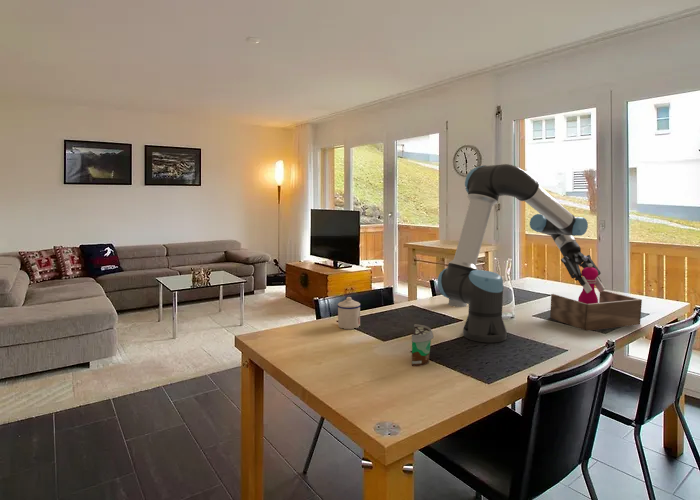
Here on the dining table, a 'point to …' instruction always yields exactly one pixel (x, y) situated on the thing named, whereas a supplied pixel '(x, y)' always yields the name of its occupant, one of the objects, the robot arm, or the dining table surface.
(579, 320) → the open-sided box
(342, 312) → the teacup with lid
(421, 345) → the food container
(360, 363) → the dining table surface
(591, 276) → the pepper mill
